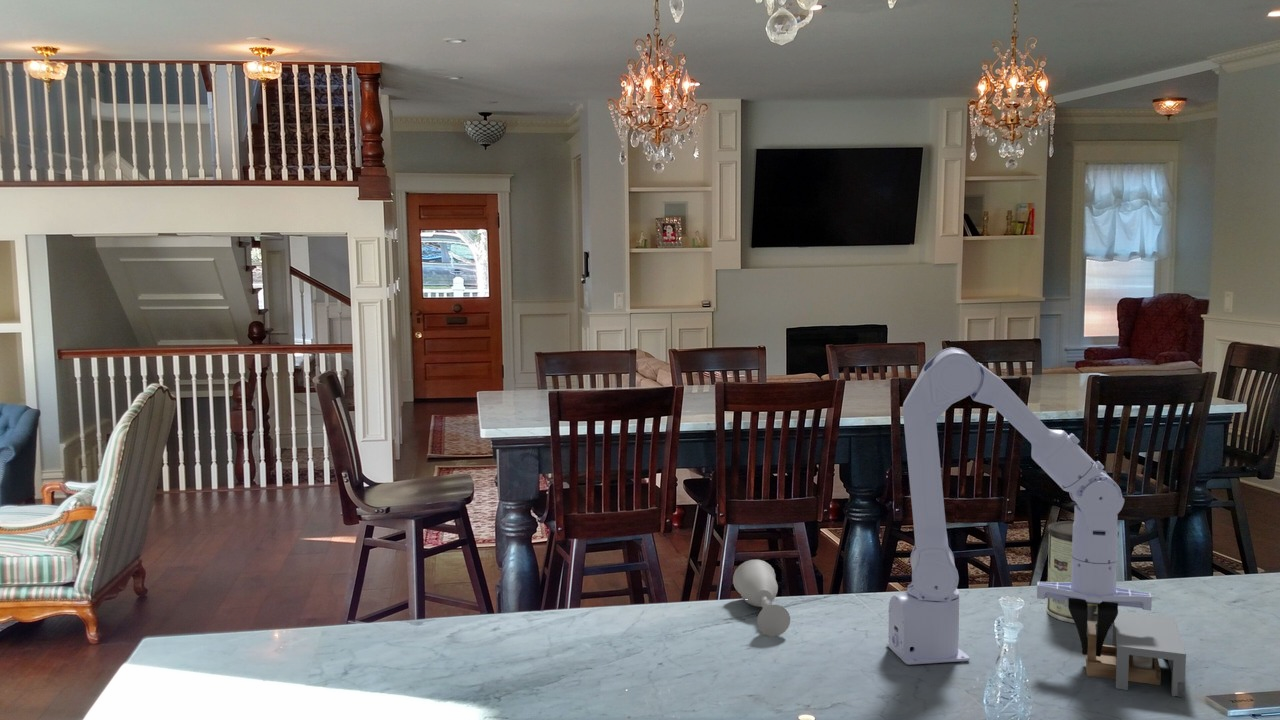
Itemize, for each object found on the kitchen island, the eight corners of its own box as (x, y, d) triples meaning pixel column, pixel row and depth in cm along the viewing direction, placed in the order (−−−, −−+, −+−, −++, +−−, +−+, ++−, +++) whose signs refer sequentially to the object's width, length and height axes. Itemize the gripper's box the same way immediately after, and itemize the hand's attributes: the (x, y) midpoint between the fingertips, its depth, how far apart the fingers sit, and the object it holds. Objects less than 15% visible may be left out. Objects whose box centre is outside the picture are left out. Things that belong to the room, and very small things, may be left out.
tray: (1086, 675, 140) (1087, 638, 139) (1085, 654, 147) (1086, 619, 147) (1160, 685, 136) (1161, 647, 136) (1155, 663, 144) (1156, 627, 143)
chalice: (800, 637, 156) (778, 594, 174) (794, 595, 155) (772, 556, 173) (752, 645, 156) (735, 601, 174) (746, 603, 155) (730, 563, 173)
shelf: (1116, 688, 135) (1117, 645, 135) (1111, 649, 149) (1112, 610, 149) (1184, 697, 132) (1186, 654, 132) (1173, 656, 146) (1174, 616, 146)
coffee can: (1122, 612, 165) (1125, 526, 164) (1107, 630, 157) (1109, 540, 155) (1056, 600, 171) (1058, 517, 170) (1037, 617, 163) (1039, 530, 162)
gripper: (1037, 560, 141) (1034, 656, 142) (1154, 571, 135) (1151, 670, 137) (1038, 547, 148) (1036, 638, 149) (1150, 557, 142) (1147, 652, 143)
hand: (1091, 653), depth 143 cm, fingers closed on tray
